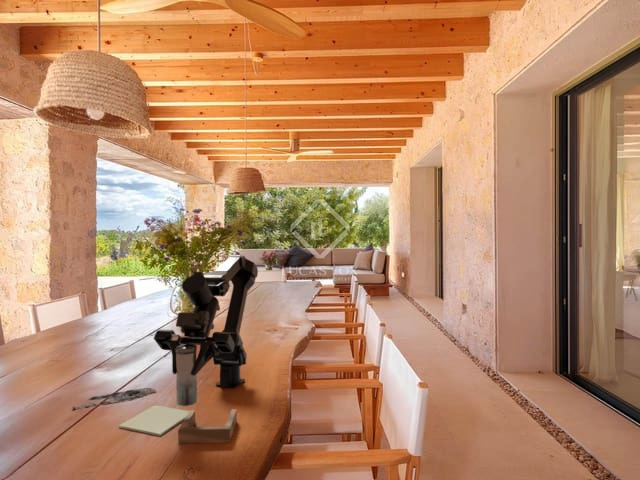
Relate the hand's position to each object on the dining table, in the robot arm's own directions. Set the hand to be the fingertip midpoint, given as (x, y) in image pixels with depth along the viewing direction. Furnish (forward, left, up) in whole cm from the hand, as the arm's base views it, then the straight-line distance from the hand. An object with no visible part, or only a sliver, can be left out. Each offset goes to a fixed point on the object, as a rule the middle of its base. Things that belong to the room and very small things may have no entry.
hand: (183, 374), depth 99 cm
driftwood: (-9, -30, -14) cm, 34 cm away
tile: (-2, -10, -13) cm, 17 cm away
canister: (-1, 0, -7) cm, 7 cm away
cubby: (-2, +5, -13) cm, 15 cm away
